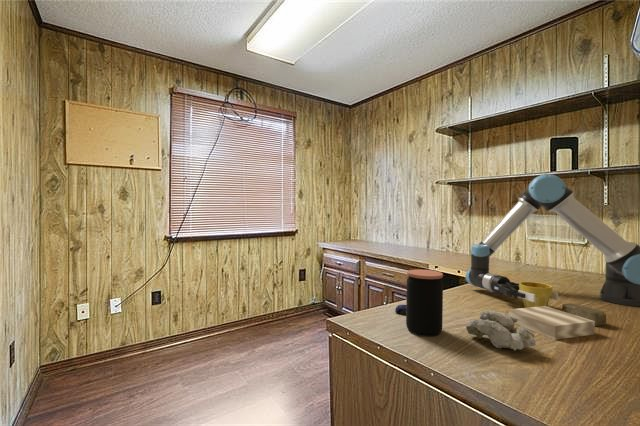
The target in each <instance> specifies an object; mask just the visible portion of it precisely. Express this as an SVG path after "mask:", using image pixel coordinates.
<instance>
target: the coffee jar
mask: <svg viewBox="0 0 640 426" xmlns="http://www.w3.org/2000/svg"><path fill="white" fill-rule="evenodd" d="M406 273H407V274H406V275H407V278H406V299H405V300H406V303H405V305H406V315H405V316H406V317H405V319H406V320H405V322H406V323H405V325H406V327H407V329H408V331H409V332H410V333H412V334H414V335H417V336H423V337H435V336H439V335H440V334H441V333H442V330H443V317H444V315H443V310H444V308H443V307H444V305H443V304H444V298H443V297H444V296H443V295H444V283H443V280H442V279H443V278H444V273H442V272H441V271H437V270H432V269H421V268H420V269H408V270H407V271H406Z"/></svg>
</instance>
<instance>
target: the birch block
mask: <svg viewBox="0 0 640 426" xmlns="http://www.w3.org/2000/svg"><path fill="white" fill-rule="evenodd" d="M508 316H510V317H514V318H517V319H518V321H517V322H516V323H514V324H515V325H517V326H521V327H524V328H526V329H527V330H529V331H531V332H534V333H537V334H540V335H541V336H545V337H546V338H550V339H552V340H554V341H555V340H563V339H569V338H571V339H572V338H577V337H578V338H579V337H585V336H591V335H592V336H593V335H595V331H596V330H595V327H596V326H595V321H592V320H589V319H586V318H582V317H579V316H576V315H573V314H569V313H566V312H563V311H562V310H560V309H556V308H553V307H549V306H539V307H528V308H525V307H521V308H512V309H511V308H509V309H508Z"/></svg>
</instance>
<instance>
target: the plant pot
mask: <svg viewBox="0 0 640 426" xmlns="http://www.w3.org/2000/svg"><path fill="white" fill-rule="evenodd" d="M518 284H519V290H521V291H524V292H528V293H532V294H535V302H531V301H528V300H525V299H522V303H523V306H524V307H523V308H528V307H539V306H547V307H549V306H548V305H549V303H550V299H551V298H550V296H552V291H553V286H552V285H550V284H547V283H545V282H544V283H543V282H537V281H521V282H518Z"/></svg>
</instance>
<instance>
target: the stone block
mask: <svg viewBox="0 0 640 426" xmlns="http://www.w3.org/2000/svg"><path fill="white" fill-rule="evenodd" d="M561 311H563V312H566V313H569V314H573V315H576V316H579V317H582V318H586V319H589V320H592V321H595V327H603V326H605V325H606V324H607V314H606V313H605V311H603V310H600V309H597V308H592V307H588V306H584V305H581V304H577V303H572V302H570V303H562V307H561Z"/></svg>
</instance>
